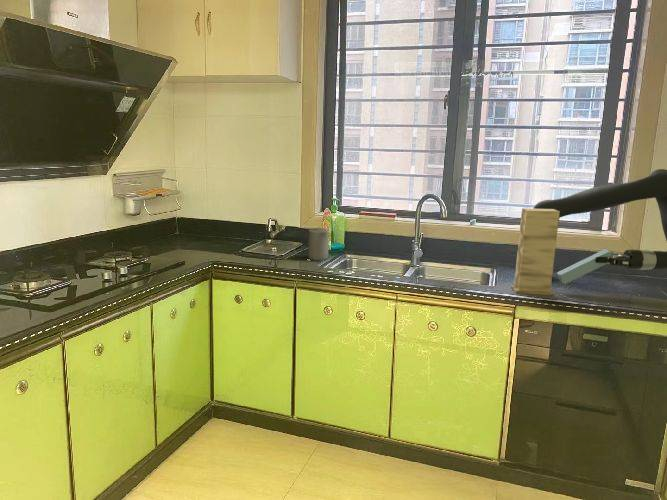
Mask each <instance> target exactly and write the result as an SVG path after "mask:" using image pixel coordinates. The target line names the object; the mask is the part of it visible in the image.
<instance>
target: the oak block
mask: <svg viewBox="0 0 667 500" xmlns="http://www.w3.org/2000/svg"><path fill="white" fill-rule="evenodd" d="M559 213H560V211H557V210H555V209H533V208H530V207H529V208H528V207H527V208H526V207H525V208H523V207H522V208H521V216H520V223H519V224H520V226H519V232H518V233H519V235H518V245H517V246H518V247H517V251H518V253H517V252H516V261H517V263H515V272H516V273H514V280H515V283H514V282H513V285H512V284H511V285H510V289H511V290H512V291H513V290H514V291H515V292H516V293H519V294H518V295H520V294H521V295H540V294H541V295H543V296H544V295H545V296H548V295H549V296H554V294H555V292H554V291H552V290H551V289H552V280H553V271H554V263H555V254H556V247H557V246H556V245H557V236H558V231H559V225H558V221H559V222H560V218H559ZM557 230H558V231H557ZM514 291H513V292H514ZM515 292H514V293H515ZM516 293H515V294H516Z"/></svg>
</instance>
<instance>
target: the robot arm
mask: <svg viewBox="0 0 667 500" xmlns="http://www.w3.org/2000/svg"><path fill="white" fill-rule="evenodd" d="M647 199H648V200H649V199H655V200H656V203H657V206H658V209H659V214H660V215H659V216H660V220H661V221H660V222H661V224H662V225H661V227H662V230H663V235H664V237H665V241H666V242H667V169H665V168H660V169H659V168H658V169H655V170H654V171H652V172H651V173H650V174H649V175H647V176H645V177H642V178H639V179H637V180H633V181H630V182H625V183H624V182H623V183H621V182H620V183H609V184H602V185H598V186H595V187H591V188H588V189H585V190H582V191H579V192H576V193H574V194H571V195H569V196H566V197H560V198H555V199H544V200H541V201H539V202H537V203H536V204H535V205H534V207H533V208H532V209H555V210H557V211H560V213H559V219H560V218H562V217H566V216H570V215H571V216H572V215H577V214H579V215H580V214H584V213H592V212H597V211H601V210H606V209H611V208H613V207H618V206H620V205H623V204H627V203H631V202H634V201H635V202H636V201H641V200H647ZM559 224H560V220H559V221H558V226H559ZM558 231H559V229H558V230H557V232H558ZM610 252H611V251H610ZM594 254H595V253H594ZM594 254H590V256H592V255H594ZM611 255H612V257H596V260H595V262H596V263H607V264H606V265H611V266H619V267H624V269H626V270H642V271H643V270H645V271H646V270H666V269H667V250H666V251H661V250H650V249H649V250H648V249H626V250H624V252H623V254H621V253H619V252H615V253H614V252H611Z"/></svg>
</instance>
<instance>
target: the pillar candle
mask: <svg viewBox="0 0 667 500" xmlns="http://www.w3.org/2000/svg"><path fill="white" fill-rule="evenodd" d="M329 232H330V230H329V229H327V228H320V227H318V228H316V227H315V228H309V229H308V243H307V244H308V251H307V252H308V253H307V255H308V256H307V258H308V260H309V259H310V260H312V259H313V260H312V261H323V260H324V261H325V260H328V259H329V239H330V238H329V234H330V233H329Z"/></svg>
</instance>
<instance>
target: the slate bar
mask: <svg viewBox="0 0 667 500" xmlns="http://www.w3.org/2000/svg"><path fill="white" fill-rule="evenodd" d="M596 257H612V255H611V251H610V250H608V249H606V248H604V249H603V250H602V249H601V250H600V251H598V252H596V253H594V255H592V256H591V255H590V256H588V257H586V258H583V259H582V260H580V261H577V262H576V263H574V264H572V265H570V266H568V267H565V268H563V269H562V270H560V271H557V272H556V275H557V278H558V279H559V281H560V282H561V283H562V284H564V285H566V284H568V283H571V282H572V281H574V280H576V279H579V278H580V277H583V276H585V275H587V274H590V273H591V272H593V271H595V270H597V269H599V268H601V267H604V266H605V265H608V264H607V263H596V262H595V260H596Z"/></svg>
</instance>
